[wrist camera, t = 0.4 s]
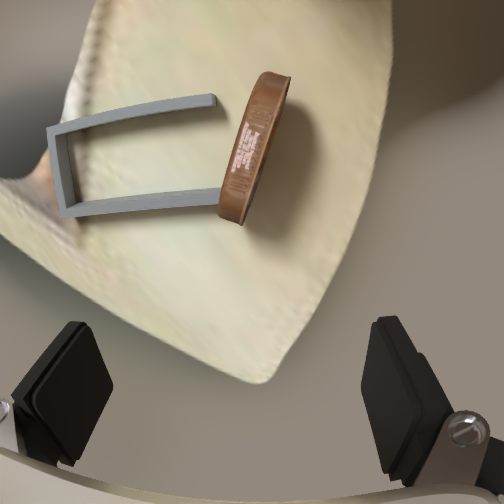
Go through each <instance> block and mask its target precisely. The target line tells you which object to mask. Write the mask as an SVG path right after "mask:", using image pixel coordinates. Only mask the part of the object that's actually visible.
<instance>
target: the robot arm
mask: <svg viewBox="0 0 504 504" xmlns="http://www.w3.org/2000/svg"><path fill="white" fill-rule="evenodd" d="M112 391H113V382H112V380H111V377H110V375H109V373H108V370H107V368H106V366H105V363H104V361H103V359H102V356H101V353H100V351H99V349H98V346H97V343H96V340H95V338H94V335H93V332H92V330H91V328H90V327H89V326H87V324H86V323H85V322H77V321H71V322H69V323H68V324H67V325H66V326H65V327H64V328H63V330H62V331H61V332H60V333H59V334H58V336H57V337H56V338H55V339H54V340H53V342H52V343H51V344H50V345H49V346H48V348H47V349H46V350H45V351H44V353H43V354H42V355H41V356H40V358H39V359H38V360H37V361H36V363H35V364H34V365H33V366H32V368H31V369H30V370H29V372H28V373H27V374H26V375H25V377H24V378H23V380H22V381H21V382H20V383H19V385H18V386H17V387H16V389H15V390H14V392H13V393H12V394H11V396H12V398H13V399H14V401H15V402H14V403H13V405H12V403H11V402H10V401H9V400H8V399H6V398H0V504H504V441H501V440H498V439H496V438H493V437H490V427H489V424H488V423H487V421H486V420H485V419H484V418H483V417H482V416H481V415H480V414H478V413H475V412H473V411H468V410H465V411H458V412H454V410H453V408H452V407H451V404H450V402H449V400H448V399H447V397H446V395H445V393H444V391H443V389H442V387H441V385H440V383H439V381H438V380H437V378H436V376H435V374H434V372H433V370H432V368H431V367H430V365H429V363H428V361H427V360H426V358H425V356H424V355H423V354H422V353H418V352H417V350H416V348H415V347H414V345H413V343H412V341H411V339H410V338H409V336H408V334H407V332H406V331H405V329H404V327H403V326H402V324H401V322H400V320H399V319H398V317H397V316H385V317H379V318H378V320H377V322H373V323H372V326H371V333H370V339H369V344H368V350H367V356H366V361H365V366H364V371H363V376H362V381H361V392H362V396H363V400H364V403H365V407H366V410H367V414H368V417H369V421H370V424H371V428H372V432H373V436H374V439H375V443H376V447H377V451H378V455H379V459H380V463H381V467H382V471H383V473H384V474H387V473H388V474H389V478H390V481H395V480H399V479H401V481H402V484H403V485H404V486H406V487H405V488H400V489H394V490H388V491H381V492H375V493H368V494H362V495H355V496H348V497H340V498H330V499H318V500H307V501H306V500H305V501H289V502H238V501H219V500H206V499H196V498H187V497H178V496H172V495H165V494H159V493H152V492H147V491H142V490H137V489H132V488H128V487H123V486H118V485H114V484H110V483H106V482H103V481H99V480H95V479H92V478H88V477H85V476H81V475H77V474H74V473H71V472H69V471H66V470H63V469H60V468H58V467H57V462H58V460H59V461H60V462H61V463H62V464H66V465H68V466H71V467H73V466H74V464H75V462H76V460H79V459H80V457H81V455H82V453H83V451H84V449H85V447H86V445H87V442H88V440H89V438H90V436H91V434H92V432H93V430H94V428H95V426H96V423H97V421H98V419H99V417H100V415H101V413H102V411H103V409H104V407H105V405H106V403H107V401H108V399H109V397H110V395H111V393H112Z"/></svg>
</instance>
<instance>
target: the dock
mask: <svg viewBox="0 0 504 504" xmlns="http://www.w3.org/2000/svg"><path fill="white" fill-rule="evenodd" d="M212 106H216V97H215V95H214V94H212V93H211V94H202V95H194V96H187V97H180V98H173V99H167V100H161V101H155V102H149V103H144V104H139V105H134V106H129V107H124V108H119V109H115V110H110V111H106V112H102V113H98V114H94V115H90V116H86V117H82V118H79V119H75V120H71V121H68V122H64V123H61V124H58V125H55V126H51V127H48V128H47V138H48V146H49V154H50V161H51V168H52V174H53V180H54V186H55V191H56V197H57V202H58V207H59V212H60V216H61V219H64V218H72V217H81V216H90V215H99V214H108V213H117V212H127V211H138V210H149V209H160V208H172V207H185V206H198V205H213V204H218V201H219V197H220V192H221V188H211V189H198V190H186V191H175V192H164V193H154V194H145V195H135V196H127V197H118V198H110V199H102V200H94V201H87V202H80V203H77V202H76V197H75V192H74V186H73V180H72V174H71V168H70V161H69V154H68V146H67V137H66V134H67V133H70V132H74V131H78V130H82V129H86V128H90V127H94V126H98V125H103V124H107V123H112V122H116V121H121V120H126V119H131V118H137V117H142V116H148V115H154V114H160V113H166V112H173V111H180V110H187V109H195V108H203V107H212Z"/></svg>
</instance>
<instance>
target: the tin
mask: <svg viewBox="0 0 504 504" xmlns="http://www.w3.org/2000/svg"><path fill="white" fill-rule="evenodd" d="M290 80H291V77H286V76H282V75H279V74H276V73H273V72H264V73H262V74H261V75H260V77H259V78H258V80H257V82H256V84H255V86H254V88H253V91H252V93H251V96H250V98H249V101H248V104H247V107H246V110H245V113H244V116H243V119H242V122H241V125H240V128H239V131H238V134H237V137H236V140H235V144H234V147H233V150H232V153H231V157H230V160H229V164H228V167H227V170H226V174H225V178H224V181H223V185H222V188H221V192H220V197H219V201H218V209H217V212H218V216H219V217H220V218H222V219H225V220H228V221H231V222H234V223H237V224H239V225H240V226H242V225H243V223H244V220H245V218H246V215H247V212H248V210H249V207H250V205H251V202H252V200H253V197H254V193H255V191H256V187H257V184H258V181H259V178H260V175H261V172H262V169H263V166H264V163H265V160H266V157H267V154H268V151H269V148H270V145H271V142H272V139H273V136H274V133H275V130H276V127H277V124H278V121H279V118H280V115H281V112H282V108H283V106H284V103H285V99H286V96H287V92H288V88H289V85H290Z"/></svg>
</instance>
